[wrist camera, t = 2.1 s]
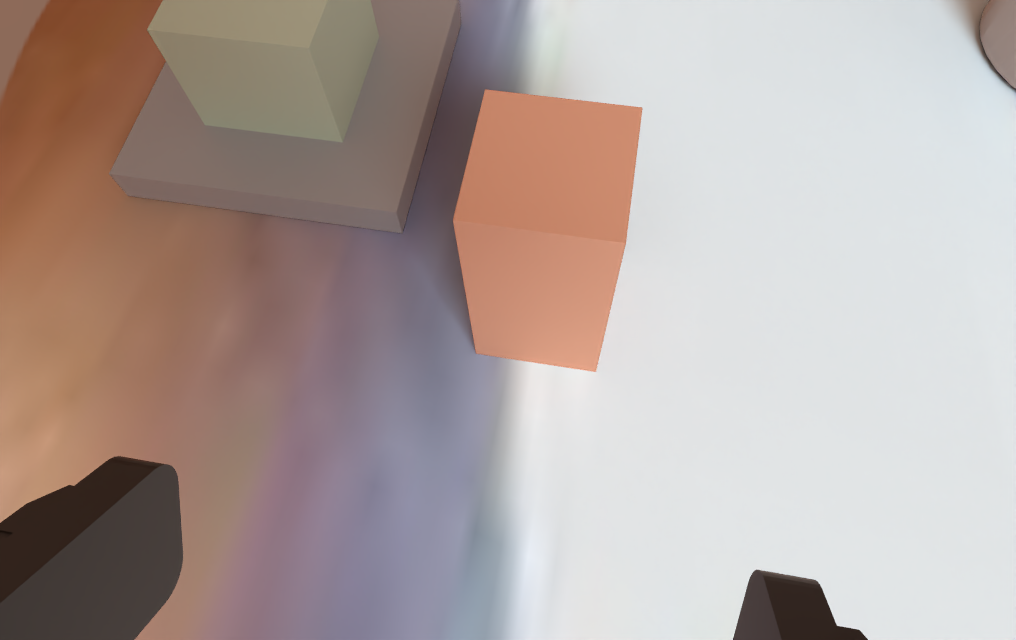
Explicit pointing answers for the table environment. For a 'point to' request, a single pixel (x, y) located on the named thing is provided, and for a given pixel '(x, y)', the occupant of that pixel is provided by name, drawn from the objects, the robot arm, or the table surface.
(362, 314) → the table surface
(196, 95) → the sage brick
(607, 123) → the terracotta brick
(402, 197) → the base plate
